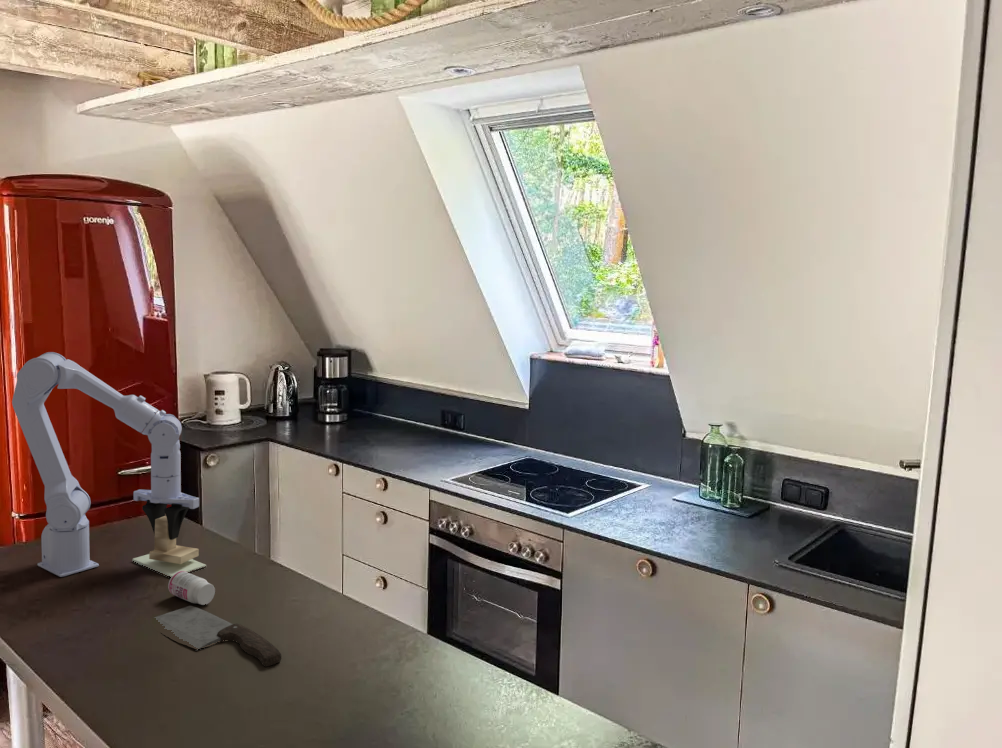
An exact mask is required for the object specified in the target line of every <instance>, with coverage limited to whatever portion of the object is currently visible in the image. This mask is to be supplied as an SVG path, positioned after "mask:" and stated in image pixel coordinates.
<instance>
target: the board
mask: <svg viewBox="0 0 1002 748" xmlns="http://www.w3.org/2000/svg"><path fill="white" fill-rule="evenodd" d="M133 561H134V562H133ZM132 562H133V563H135V562H136V563H135V564H137V563H138V564H137V565H140V566H142V565H143V566H142V567H144V566H146V567H148V568H147V569H149V568H150V569H149V570H151V569H153V570H155V571H158V572H160V573H163V574H165V575H167V576H170V577H172V576H173V575H174V574H175V573H177V572H179V571H186V572H190V571H192V570H196V569H199V568H202V567H205V566H206V567H207V564H205V563H202V562H200V561H198V560H195V559H194V558H193V559H191V560H188V561H186V562H184V563H182V564H177V563H171V562H165V561H159V560H153V559H149V553H147V554H145V555H140V556H138V557H132ZM146 567H145V568H146ZM153 570H152V571H153ZM155 571H154V572H155ZM158 572H157V573H158ZM160 573H159V574H160ZM165 575H164V576H165ZM167 576H166V577H167Z"/></svg>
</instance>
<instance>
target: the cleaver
mask: <svg viewBox="0 0 1002 748" xmlns="http://www.w3.org/2000/svg"><path fill="white" fill-rule="evenodd" d="M154 618H156V620H158V622H160V624H163V625H162V626H165V628H164V629H167V630H172V631H171V632H174V633H173V634H175V636H177V637H179V639H183V641H187V642H189V644H191V645H193V646H194V647H196V648H198V649H200V648H202V647H205V646H207V645H210V644H212V643H216V642H218V641H223V640H224V641H225V640H234V641H237V642H238V643H239V644H240V645H239V644H238V643H237V642H236V643H237V644H238V645H239V646H240V648H241V650H242V649H243V650H244V651H245V652H244V651H243V650H242V651H243V652H244V653H246V652H247V653H246V654H247V655H250V654H251V656H252V655H253V656H252V657H255V658H257V659H258V660H259V662H260V663H261V664H262V665H263V666H264V667H271V666H273V665H276V664H278V663H280V662H281V660H282V653H281V651H279V649H278V648H277V647H276V646H275V645H273V644H272V643H271V642H269V641H268V640H267V639H265V638H264V637H262V636H261V635H259V634H258V633H256V632H255V631H254V630H252V629H250V628H249V627H246V626H245V625H242V624H241V623H232V622H230V621H227V620H225V619H223V618H221V617H220V616H217V615H215V614H213V613H211V612H209V611H207V610H204V609H202V608H199V607H196V606H193V605H188V606H184V607H182V608H179V609H175V610H171V611H169V612H166V613H164V614H159V615H157V616H155V617H154ZM234 641H233V642H234ZM198 649H197V650H196V651H199V650H198ZM200 650H201V649H200Z"/></svg>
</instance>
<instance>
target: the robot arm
mask: <svg viewBox="0 0 1002 748" xmlns="http://www.w3.org/2000/svg"><path fill="white" fill-rule="evenodd" d="M56 386H57V390H58V389H59V390H64V389H67V390H69V389H76V390H79V391H81V392H82V393H84V394H85V395H88V396H89V397H90V398H93V399H94V400H96V401H98V402H100V403H102V404H103V405H105V406H107V407H109V408H111V409H113V412H114V415H115V418H116V419H117V420H119V421H120V422H121V423H124V424H125V425H127V426H129V427H131V428H132V429H133V430H135V431H137V432H138V433H140V434H142V435H145V436H147V438H148V441H149V443H150V445H151V453H150V489H142V488H141V489H137V490H134V491H133V501H134V502H135V501H136V502H139V501H142V502H143V501H144V502H146V503H145V504H144V505H142V511H143V513H145V515H146V517H147V519H148V521H149V522H150V523H149V524H150V526H151V529H152V533H153V534H154V535H153V536H154V537H155V519H158V518H160V517H163V516H166V517H167V521H168V534H169V539H170V540H173V539H175V538H176V539H177V538H179V535H180V531H181V527H182V523H183V520H184V519H185V517H186V514H187V513H188V511H189V510H195V509H197V508H199V507H200V497H196V496H193V495H190V494H187V493H184V492H182V485H181V484H182V472H181V471H182V470H181V463H182V462H181V461H182V460H181V459H182V457H181V456H182V455H181V454H182V453H181V450H180V449H181V444H180V443H181V442H180V436H181V434H182V431H183V430H182V423H181V421H180V420H179V419H178V418H177V417H176V416H175V415H174V414H171V413H167V412H166V411H165V410H164V409H161V410H159V409H158V408H157V407H154V406H152V405H151V404H150V403H148V402H146V399H147V398H146V397H144V396H143V395H139V396H137V395H136V394H129V395H123V394H122V393H120V392H119V391H117V390H116V389H115V388H113V387H112V386H110V385H109V384H107V383H106V382H104V381H103V380H102V379H100V378H98V377H97V376H95V375H94V374H93V373H91V372H89V371H88V370H87V369H85V368H84V367H82V365H81V366H80V365H79V364H78V363H77V362H75V361H74V360H71V359H68V358H67V359H66V357H65V356H63V355H62V354H60V353H57V352H54V351H48V352H45V353H43V354H41V355H39V356H37V357H33V358H31V359H29V360H28V361H26V362H25V363H24V365H22V367H21V368H20V369H19V371H18V372H17V373H16V384H15V387H14V392H13V396H12V400H11V405H12V408H13V410H14V414H15V416H16V418H17V421H18V423H19V425H20V429H21V430H22V433H23V436H24V438H25V441H26V443H27V446H28V448H29V451H30V454H31V456H32V457H33V460H34V464H35V465H36V468H37V470H38V473H39V475H40V478H41V481H42V483H43V485H44V503H45V505H46V512H45V518H46V522H47V525H45V527H44V528H43V529H42V533H41V536H40V537H41V561H40V562H37V566H38V567H39V568H42V569H44V570H45V571H48V572H49V573H51V574H53V575H56V576H57V577H60V578H63V577H67V576H70V575H73V574H74V575H75V574H77V573H79V572H84V571H87V570H91V569H93V568H97V567H99V566H100V565H99V563H98V562H96V561H94V560H92V559H91V557H90V552H91V551H90V520H89V519H88V518H87V516H86V513H87V512H88V511H89V510H90V508H91V505H92V504H91V503H92V502H91V497H90V496H89V494H88V493H87V491H85V490H84V489H83V488H82V487H81V485H80V483H79V480H77V478H76V477H74V476H73V474H72V472H71V471H70V468H69V465H68V461H67V459H66V458H65V454H64V453H63V450H62V446H61V445H60V442H59V440H58V436H57V434H56V432H55V429H54V427H53V424H52V422H51V420H50V417H49V414H48V412H47V409H46V406H45V402H46V401H47V399H48V397H49V396H50V394H51V392H52V390H53V389H54V388H55V387H56ZM168 505H170V506H168ZM167 506H168V507H167Z"/></svg>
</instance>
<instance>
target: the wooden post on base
mask: <svg viewBox="0 0 1002 748" xmlns="http://www.w3.org/2000/svg"><path fill="white" fill-rule="evenodd" d="M199 552H200V549H199V548H195V547H190V546H189V547H188V546H183V545H177V538H175V539H173V540H170V539H169V534H168V521H167V517H166V515H165V516H163V517H160V518H158V519H155V536H154V549H153V550H150V551H149V553H148V554H149V559H153V560H159V561H165V562H171V563H177V564H182V563H184V562H186V561H188V560H191V559H193V560H194V559H195V558H197V557H199V555H200V553H199Z"/></svg>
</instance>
